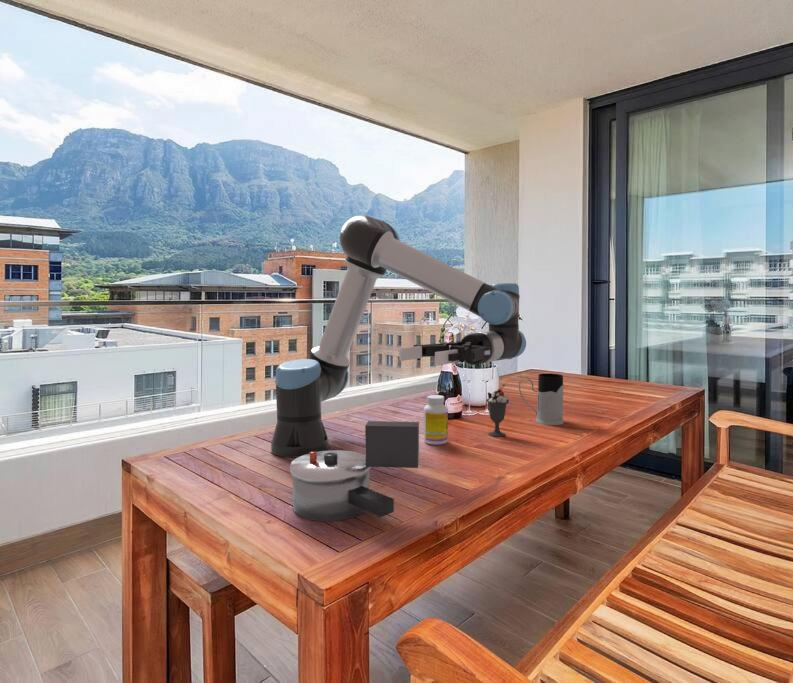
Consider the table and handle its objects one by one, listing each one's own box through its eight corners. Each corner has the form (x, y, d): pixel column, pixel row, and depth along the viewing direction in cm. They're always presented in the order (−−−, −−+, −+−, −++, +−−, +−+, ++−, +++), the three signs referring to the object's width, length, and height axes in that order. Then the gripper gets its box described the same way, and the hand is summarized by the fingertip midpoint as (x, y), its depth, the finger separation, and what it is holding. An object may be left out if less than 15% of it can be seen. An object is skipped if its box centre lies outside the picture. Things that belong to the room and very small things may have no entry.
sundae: (511, 437, 146) (512, 385, 144) (488, 438, 145) (489, 386, 144) (505, 431, 152) (505, 381, 151) (483, 431, 152) (483, 382, 150)
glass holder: (563, 426, 157) (564, 378, 156) (516, 422, 162) (517, 375, 161) (564, 419, 166) (565, 373, 164) (519, 416, 170) (520, 371, 169)
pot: (270, 500, 103) (269, 466, 102) (330, 480, 113) (329, 450, 113) (354, 546, 84) (353, 505, 83) (416, 517, 94) (416, 481, 94)
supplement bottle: (450, 444, 139) (450, 398, 138) (426, 446, 138) (426, 399, 137) (444, 438, 146) (444, 393, 144) (421, 439, 145) (421, 394, 143)
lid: (279, 482, 93) (277, 433, 92) (303, 455, 108) (302, 412, 107) (416, 486, 90) (416, 435, 90) (420, 457, 106) (420, 414, 105)
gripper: (520, 367, 116) (459, 380, 100) (445, 359, 132) (382, 368, 116) (521, 335, 115) (459, 342, 100) (445, 330, 131) (381, 336, 116)
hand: (417, 356), depth 108 cm, fingers open, 10 cm apart
